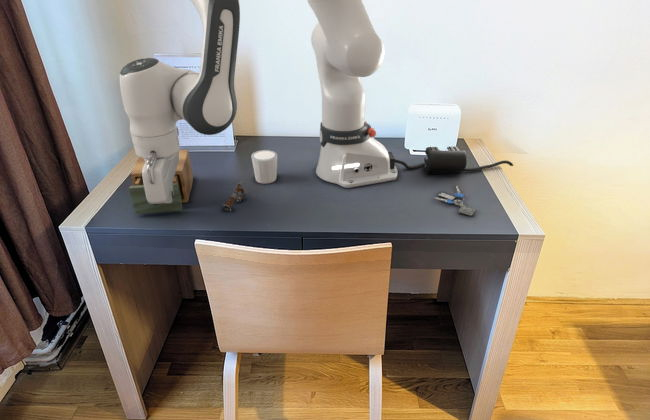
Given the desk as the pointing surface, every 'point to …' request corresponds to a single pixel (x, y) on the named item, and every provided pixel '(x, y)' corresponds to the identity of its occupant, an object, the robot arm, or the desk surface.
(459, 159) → the black cylinder
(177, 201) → the drawer
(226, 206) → the wooden post with brackets
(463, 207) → the key chain
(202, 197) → the desk surface
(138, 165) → the cabinet
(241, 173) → the desk surface
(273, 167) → the white cup
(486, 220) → the desk surface
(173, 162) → the robot arm
